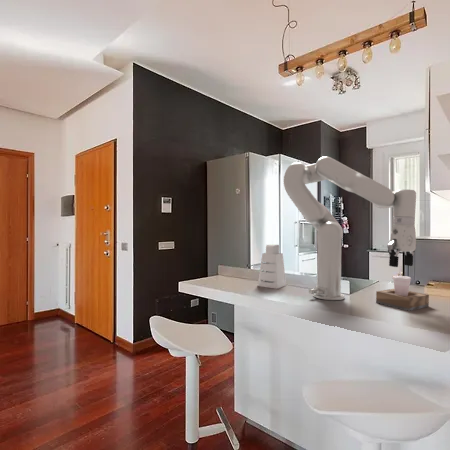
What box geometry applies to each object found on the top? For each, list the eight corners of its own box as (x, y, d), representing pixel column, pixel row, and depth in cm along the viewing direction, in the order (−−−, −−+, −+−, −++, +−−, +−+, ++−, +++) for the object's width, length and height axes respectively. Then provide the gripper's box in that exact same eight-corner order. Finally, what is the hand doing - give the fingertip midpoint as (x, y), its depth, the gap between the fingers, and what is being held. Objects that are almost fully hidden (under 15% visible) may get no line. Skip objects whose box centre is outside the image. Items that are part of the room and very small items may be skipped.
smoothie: (388, 300, 129) (389, 264, 129) (403, 299, 129) (404, 264, 129) (398, 304, 122) (399, 267, 122) (414, 304, 123) (415, 267, 123)
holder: (409, 310, 117) (409, 298, 117) (376, 302, 128) (376, 291, 128) (428, 306, 124) (428, 294, 124) (395, 299, 135) (395, 288, 135)
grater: (257, 285, 158) (258, 244, 158) (267, 282, 167) (267, 243, 166) (277, 288, 152) (278, 245, 152) (286, 285, 161) (286, 244, 161)
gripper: (399, 221, 118) (397, 268, 118) (425, 222, 127) (423, 266, 127) (380, 220, 124) (378, 265, 125) (406, 222, 133) (404, 263, 134)
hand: (401, 266), depth 126 cm, fingers open, 9 cm apart
